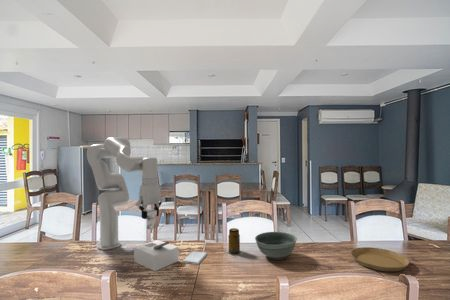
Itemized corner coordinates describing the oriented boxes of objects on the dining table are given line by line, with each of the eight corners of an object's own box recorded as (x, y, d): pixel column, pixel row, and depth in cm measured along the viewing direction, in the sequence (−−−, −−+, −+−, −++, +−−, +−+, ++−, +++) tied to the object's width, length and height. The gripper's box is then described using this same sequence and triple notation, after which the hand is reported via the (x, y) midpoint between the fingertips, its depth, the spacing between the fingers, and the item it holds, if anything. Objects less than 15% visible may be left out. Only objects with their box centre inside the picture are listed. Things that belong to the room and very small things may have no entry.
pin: (141, 228, 131) (141, 210, 131) (152, 225, 136) (151, 208, 136) (148, 230, 127) (148, 212, 127) (159, 227, 132) (159, 210, 132)
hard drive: (192, 251, 139) (182, 260, 127) (207, 252, 137) (197, 262, 125) (192, 254, 139) (182, 263, 127) (207, 255, 137) (197, 265, 125)
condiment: (234, 248, 145) (234, 226, 145) (245, 252, 138) (245, 230, 138) (224, 251, 140) (224, 229, 140) (235, 256, 134) (234, 233, 134)
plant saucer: (339, 257, 132) (339, 250, 132) (374, 250, 140) (374, 244, 140) (383, 279, 109) (383, 271, 109) (422, 269, 118) (421, 261, 118)
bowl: (298, 267, 121) (298, 245, 121) (253, 263, 125) (253, 242, 125) (295, 250, 141) (295, 231, 141) (256, 247, 145) (256, 229, 145)
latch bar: (153, 249, 126) (153, 247, 127) (161, 246, 130) (161, 244, 130) (161, 246, 123) (160, 243, 123) (169, 243, 126) (168, 241, 127)
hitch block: (133, 261, 129) (133, 247, 129) (157, 252, 140) (157, 239, 140) (154, 271, 118) (154, 255, 118) (178, 260, 129) (178, 246, 129)
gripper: (159, 179, 141) (159, 212, 141) (130, 183, 128) (130, 219, 128) (168, 180, 136) (168, 214, 136) (138, 184, 123) (139, 222, 123)
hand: (150, 216), depth 132 cm, fingers closed on pin, 6 cm apart
